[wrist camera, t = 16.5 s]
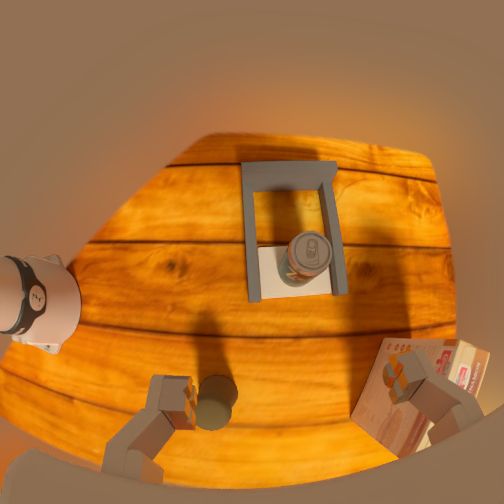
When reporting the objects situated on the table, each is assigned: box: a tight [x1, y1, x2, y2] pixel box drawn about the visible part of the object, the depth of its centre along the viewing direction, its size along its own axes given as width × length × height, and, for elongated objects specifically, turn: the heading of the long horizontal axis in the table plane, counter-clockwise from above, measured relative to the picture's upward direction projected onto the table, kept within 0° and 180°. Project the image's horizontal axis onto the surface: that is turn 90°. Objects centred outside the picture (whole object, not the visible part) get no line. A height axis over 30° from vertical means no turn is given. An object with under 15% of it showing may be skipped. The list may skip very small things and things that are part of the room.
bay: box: [241, 161, 349, 303], centre depth 41 cm, size 15×20×7 cm
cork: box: [194, 375, 238, 431], centre depth 33 cm, size 6×6×11 cm
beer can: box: [278, 231, 332, 287], centre depth 37 cm, size 5×5×12 cm
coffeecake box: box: [350, 338, 490, 459], centre depth 29 cm, size 15×7×20 cm, turn 157°
